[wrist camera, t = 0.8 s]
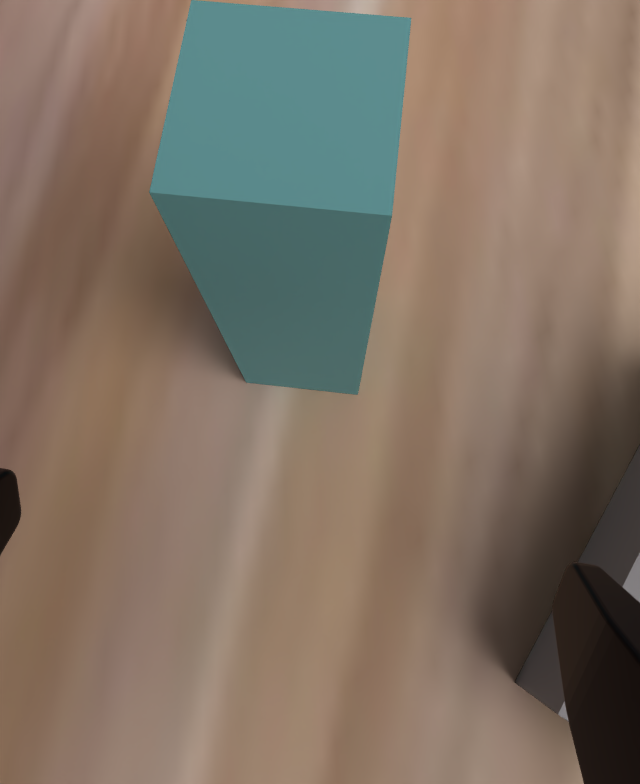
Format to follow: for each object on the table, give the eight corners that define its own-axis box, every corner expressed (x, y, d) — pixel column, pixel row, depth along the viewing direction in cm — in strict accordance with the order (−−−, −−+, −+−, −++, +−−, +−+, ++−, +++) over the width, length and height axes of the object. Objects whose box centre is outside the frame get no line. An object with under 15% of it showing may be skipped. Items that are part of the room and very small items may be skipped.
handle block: (357, 394, 23) (392, 215, 11) (246, 382, 23) (149, 192, 11) (368, 291, 24) (411, 17, 12) (262, 280, 24) (191, 0, 12)
